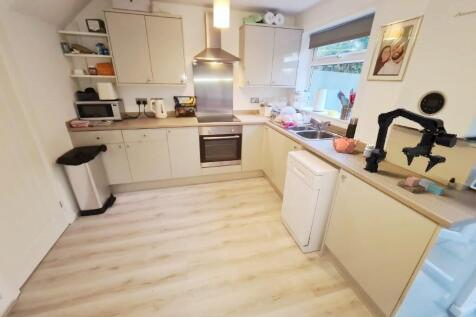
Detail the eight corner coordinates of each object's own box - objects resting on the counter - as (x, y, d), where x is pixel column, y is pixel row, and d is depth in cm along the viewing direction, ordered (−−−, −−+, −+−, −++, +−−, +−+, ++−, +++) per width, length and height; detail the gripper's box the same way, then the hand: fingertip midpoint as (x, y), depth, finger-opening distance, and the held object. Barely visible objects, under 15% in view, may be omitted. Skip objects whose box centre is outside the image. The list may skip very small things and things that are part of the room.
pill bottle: (368, 157, 166) (371, 144, 162) (372, 160, 160) (376, 146, 156) (360, 157, 166) (364, 144, 162) (365, 159, 160) (368, 146, 156)
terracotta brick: (411, 186, 114) (413, 180, 112) (404, 183, 117) (407, 177, 115) (418, 185, 116) (420, 179, 114) (411, 182, 119) (414, 176, 117)
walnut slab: (396, 186, 120) (398, 181, 119) (407, 184, 123) (409, 180, 122) (411, 193, 112) (413, 189, 111) (423, 192, 114) (425, 187, 113)
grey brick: (417, 185, 122) (420, 179, 120) (422, 184, 122) (424, 178, 121) (429, 189, 116) (431, 183, 115) (433, 189, 117) (435, 183, 116)
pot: (339, 147, 191) (342, 134, 187) (358, 152, 178) (361, 138, 173) (327, 150, 182) (330, 136, 177) (346, 155, 168) (349, 141, 164)
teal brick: (426, 190, 116) (429, 184, 114) (430, 189, 117) (433, 183, 115) (438, 195, 110) (441, 189, 109) (443, 194, 111) (446, 188, 110)
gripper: (398, 138, 115) (390, 163, 120) (436, 148, 98) (424, 177, 104) (413, 137, 118) (404, 162, 123) (452, 147, 101) (440, 175, 106)
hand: (417, 168), depth 114 cm, fingers open, 9 cm apart
